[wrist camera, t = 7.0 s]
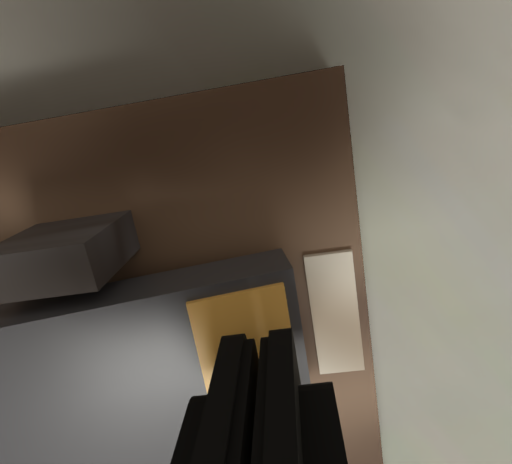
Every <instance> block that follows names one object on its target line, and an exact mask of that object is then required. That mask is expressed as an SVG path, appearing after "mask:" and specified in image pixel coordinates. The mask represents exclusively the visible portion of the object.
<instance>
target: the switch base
mask: <svg viewBox="0 0 512 464" xmlns="http://www.w3.org/2000/svg"><path fill="white" fill-rule="evenodd" d="M280 248H282V250H283V252H284V254H285V255H286V257H287V259H288V260H289V262H290V264H291V265H292V267H293V270H294V277H295V284H296V290H297V297H298V304H299V310H300V317H301V323H302V330H303V337H304V343H305V350H306V356H307V363H308V370H309V376H310V383H311V384H313V383H322V382H333V387H334V392H335V397H336V403H337V408H338V413H339V419H340V424H341V429H342V435H343V440H344V445H345V450H346V456H347V461H348V464H383V458H382V448H381V438H380V428H379V418H378V408H377V398H376V388H375V378H374V367H373V357H372V347H371V337H370V327H369V317H368V307H367V297H366V286H365V276H364V266H363V256H362V246H361V236H360V226H359V216H358V206H357V195H356V185H355V175H354V165H353V155H352V145H351V135H350V125H349V114H348V104H347V94H346V84H345V74H344V65H342V66H336V67H331V68H325V69H320V70H314V71H308V72H303V73H297V74H292V75H286V76H281V77H275V78H270V79H264V80H259V81H253V82H247V83H242V84H236V85H231V86H225V87H220V88H214V89H209V90H203V91H198V92H192V93H187V94H181V95H175V96H170V97H164V98H159V99H153V100H148V101H142V102H137V103H131V104H126V105H120V106H114V107H109V108H103V109H98V110H92V111H87V112H81V113H76V114H70V115H65V116H59V117H54V118H48V119H42V120H37V121H31V122H26V123H20V124H15V125H9V126H4V127H0V304H5V303H11V302H19V301H27V300H35V299H43V298H51V297H59V296H66V295H74V294H82V293H90V292H98V291H99V290H100V289H101V288H102V287H103V286H104V285H105V284H106V283H110V282H115V281H120V280H125V279H130V278H135V277H140V276H145V275H150V274H155V273H160V272H165V271H170V270H175V269H180V268H185V267H190V266H195V265H200V264H205V263H210V262H215V261H220V260H225V259H230V258H235V257H240V256H245V255H250V254H255V253H260V252H265V251H270V250H275V249H280Z"/></svg>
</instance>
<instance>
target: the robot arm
mask: <svg viewBox="0 0 512 464" xmlns="http://www.w3.org/2000/svg"><path fill="white" fill-rule="evenodd" d="M170 464H348V461H347V456H346V450H345V445H344V440H343V435H342V429H341V424H340V419H339V413H338V408H337V403H336V397H335V392H334V387H333V382H322V383H313V384H303V385H301V381H300V375H299V368H298V362H297V356H296V349H295V343H294V337H293V331H292V328H284V329H276V330H269V335H268V337H261V339H260V351H259V358H258V353H257V347H256V343H255V339H254V338H253V339H247V337H246V335H245V333H243V334H234V335H226V336H222V337H221V340H220V344H219V348H218V352H217V356H216V360H215V364H214V368H213V373H212V377H211V381H210V385H209V389H208V393H207V395H199V396H192V397H191V398H190V400H189V403H188V406H187V409H186V412H185V416H184V419H183V422H182V426H181V429H180V432H179V436H178V439H177V442H176V446H175V449H174V452H173V456H172V459H171V463H170Z"/></svg>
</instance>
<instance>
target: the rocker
mask: <svg viewBox="0 0 512 464" xmlns="http://www.w3.org/2000/svg"><path fill="white" fill-rule="evenodd" d="M284 328H292V331H293V337H294V343H295V349H296V356H297V362H298V368H299V375H300V381H301V385H303V384H311V383H310V376H309V370H308V363H307V356H306V350H305V343H304V337H303V330H302V323H301V317H300V310H299V304H298V297H297V290H296V284H295V277H294V270H293V267H292V265H291V264H290V262H289V260H288V259H287V257H286V255H285V254H284V252H283V250H282V248H280V249H275V250H270V251H265V252H260V253H255V254H250V255H245V256H240V257H235V258H230V259H225V260H220V261H215V262H210V263H205V264H200V265H195V266H190V267H185V268H180V269H175V270H170V271H165V272H160V273H155V274H150V275H145V276H140V277H135V278H130V279H125V280H120V281H115V282H110V283H106V284H105V285H104V286H103V287H102V288H101V289H100V290H99V291H98V292H90V293H82V294H74V295H66V296H59V297H51V298H43V299H35V300H27V301H19V302H11V303H5V304H0V464H170V463H171V459H172V456H173V452H174V449H175V446H176V442H177V439H178V436H179V432H180V429H181V426H182V422H183V419H184V416H185V412H186V409H187V406H188V403H189V400H190V398H191V397H192V396H199V395H207V393H208V389H209V385H210V381H211V377H212V373H213V368H214V364H215V360H216V356H217V352H218V348H219V344H220V340H221V337H222V336H226V335H234V334H243V333H245V335H246V337H247V339H253V338H254V339H255V343H256V347H257V353H258V358H259V351H260V339H261V337H268V335H269V330H276V329H284Z"/></svg>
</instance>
